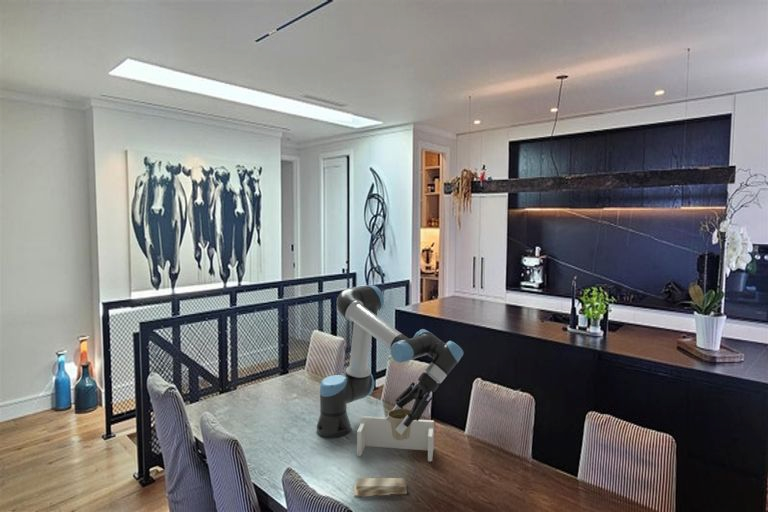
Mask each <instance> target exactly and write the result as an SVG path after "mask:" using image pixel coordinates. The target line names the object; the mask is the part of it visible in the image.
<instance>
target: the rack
mask: <svg viewBox="0 0 768 512" xmlns="http://www.w3.org/2000/svg"><path fill="white" fill-rule="evenodd" d="M386 417H387V416H386ZM386 417H384V416H369V415H361V417H360V424H359V426H358V429H357V431H356V441H357V442H356V443H357V444H356V451H357V453H356V455H357V457H358V456H359V457H362V455H363V452H364V450H365V448H366V447H376V448H389V449H403V450H404V449H405V450H415V451H427V462H431V461H432V462H433V457H434V450H435V444H434V443H435V420H432V419H431V420H430V419H419V420H418V421H416V420H413V421H412V423H411V428H410V437H409V438H408V439H404V440H396V439H394V437H393V435H392V428H391V423H390V422H389V421H387V420H386V419H385V418H386Z"/></svg>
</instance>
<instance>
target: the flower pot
mask: <svg viewBox="0 0 768 512" xmlns="http://www.w3.org/2000/svg"><path fill="white" fill-rule="evenodd" d="M410 412H411V410H410V409H407V408H403V409H394V410H392V409H391V410H390V411H388V413H387V416H389V419H390V422H391V428H392V435H393V437H394V439H396V440H404V439H408V438H409V437H410V428H411V424H410V425H409V426H408V427H407V428H406V430H405V431H404V432H403V433H402V435H401V434H399V433H398V432H397V431H396V428H397V427H398V426H399V425H400V423H401V422H402V421H403V420H404V418H405V417H406V416H407V414H410Z"/></svg>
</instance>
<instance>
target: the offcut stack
mask: <svg viewBox="0 0 768 512" xmlns="http://www.w3.org/2000/svg"><path fill="white" fill-rule="evenodd" d="M390 494H395V495H407V494H408V491H407V484H406V481H405V479H404V477H400V478H398V477H372V478H369V477H362V478H359V477H358V478H356V484H353V497H354V498H356V497H355V496H362V497H374V495H378V496H391V495H390Z"/></svg>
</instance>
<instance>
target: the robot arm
mask: <svg viewBox="0 0 768 512" xmlns="http://www.w3.org/2000/svg"><path fill="white" fill-rule="evenodd" d="M336 299H337V300H336V307H337V310H338V312H339V314H340V315H341V316H342V317H343V318H344V319H345V320H347V321H348V322H353V325H352V326H353V328H352V337H351V347H350V355H349V356H350V357H349V366H348V367H346V368H345V374H344V375H342V374H335V375H329V376H326V377H325V378H322V380H321V382H320V384H319V412H320V413H319V417H318V420H317V424H316V434H317V435H319V436H320V437H323V438H332V439H333V438H334V439H335V438H340V437H344V436H346V435H348V434H349V433H350V432H351V431H352V430H351V422H350V419H349V416H348V412H347V408H348V407H347V405H348V404H350V403H352V402H355V401H358V400H361V399H364V398H366V397H367V396H370V395H371V394H372V393H373V391H374V389H375V379H374V376H373V374H372V373H371V372H372V371H371V370H370V369H369V361H370V360H369V359H370V350H371V342H372V337H373V338H375V339H376V340H377V341H378V342H379V343H381V344H382V345H384V346H385V347H386V348H387V349H389V351H390V355H391V357H392V359H393V360H394V361H395V362H397V363H398V364H399V363H400V364H401V363H406V362H409V361H411V360H416V359H418V358H420V357H423V356H428V357H430V358H431V359H432V361H431V362H430V363H429V364H428V365H427V367H426V368H425V369H424V372H422V373H421V374H420V376H419V377H418V381H419V382H418V383H415V382H414V381H413V382H411V384H409V386H408V387H407V388H406V389H405V390H404V391H403V392H402V393H401V394H399V396H397V398H395V400H394V401H395V403H396V404H395V405H394V407H393V408H392V409H391V410H394V409H404V406H406V405H408V404H409V403H410V402H412V401H413V400H415V401H414V403H413V405H412V408H411V410H410V411H411V412H410V414H407V416H406V417H405V418H404V420H403V421H402V422H401V423H400V425H399V426H398V427H397V428H396V431H397V432H398V433H399V434H401V435H402V433H403V432H404V431H405V430H406V428H407V427H408V426H409V425H410V424H411V423H412V421H413V420H416V421H418V420H421V419H420V418H422V416H423V414H424V412H425V410H426V408H427V407H428V405H429V403H430V402H431V401H432V400H433V397H432V395H430V393H431V392H432V393H434V392H436V390H437V389H438V388H439V386H440V384H442V383H443V381H444V380H445V379H446V377H448V375H449V374H450V372H451V371H452V370H453V369H454V368H455V366H456V365H457V364H458V363H459V361H460V360H461V358H462V357H463V356H464V350H463V348H462V347H461V346H460V345H458V344H457V343H455V342H454V341H452V340H449V341H447V342H444V341H443V340H441V339H439V338H438V337H437V336H436V335H435V334H433V333H432V332H430V331H428V330H426V329H424V328H422V329H419V331H417V332H416V333H415V334H414V336H413V337H412V338H408V336H406V335H404V334H403V333H401V332H400V331H398V330H397V328H395V327H393V326H392V325H390V324H389V323H388V322H386V321H385V320H384V319H382V318H381V317H379V316H378V311H379V310H381V309H382V308H383V307H384V303H385V299H384V295H383V292H382V291H381V289H380V288H379V287H378V286H376V285H361V286H354V287H347V288H345V289H343V290H342V291H341V292H340V293H339V294H338V296H337V298H336ZM385 419H386V420H387V421H389V422H390V419H389V416H388V415H387V416H386V418H385ZM390 423H391V422H390Z"/></svg>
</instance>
